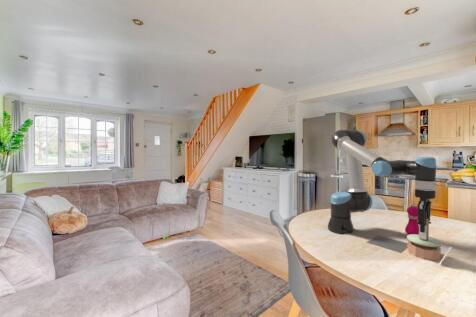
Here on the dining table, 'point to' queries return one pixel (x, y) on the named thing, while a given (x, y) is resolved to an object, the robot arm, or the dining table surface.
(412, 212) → the pepper mill
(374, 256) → the dining table surface
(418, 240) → the plunger
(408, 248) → the bowl
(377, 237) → the mat
